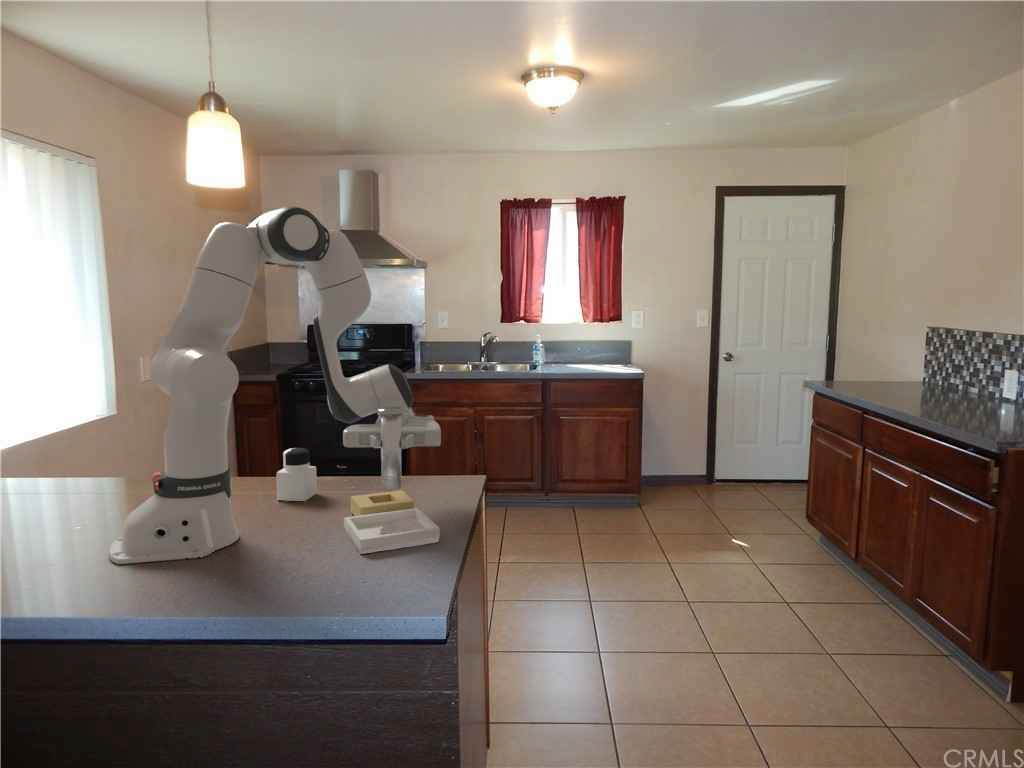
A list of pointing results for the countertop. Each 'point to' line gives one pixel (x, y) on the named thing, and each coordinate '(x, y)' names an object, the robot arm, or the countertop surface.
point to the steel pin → (390, 446)
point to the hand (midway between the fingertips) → (390, 443)
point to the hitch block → (380, 503)
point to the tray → (368, 526)
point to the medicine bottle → (296, 476)
